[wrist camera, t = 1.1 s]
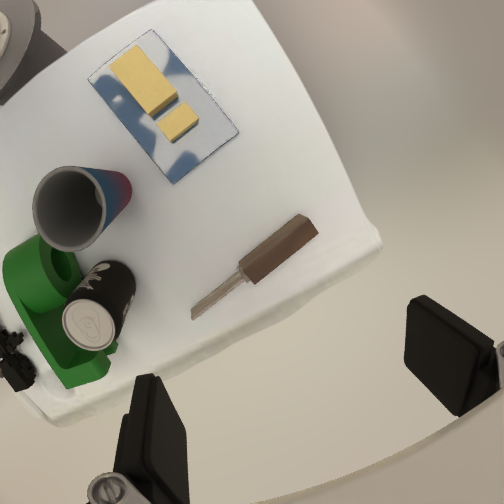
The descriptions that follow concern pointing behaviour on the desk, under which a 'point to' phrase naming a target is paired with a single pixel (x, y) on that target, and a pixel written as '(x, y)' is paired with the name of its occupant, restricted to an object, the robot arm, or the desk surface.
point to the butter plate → (166, 111)
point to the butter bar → (144, 81)
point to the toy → (15, 363)
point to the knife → (263, 259)
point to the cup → (78, 205)
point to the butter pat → (178, 122)
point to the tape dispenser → (51, 308)
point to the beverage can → (99, 306)
